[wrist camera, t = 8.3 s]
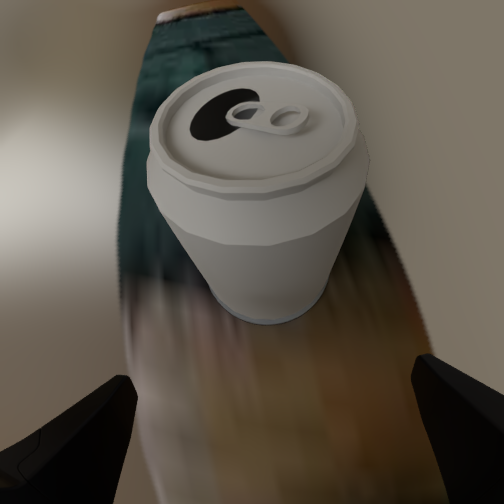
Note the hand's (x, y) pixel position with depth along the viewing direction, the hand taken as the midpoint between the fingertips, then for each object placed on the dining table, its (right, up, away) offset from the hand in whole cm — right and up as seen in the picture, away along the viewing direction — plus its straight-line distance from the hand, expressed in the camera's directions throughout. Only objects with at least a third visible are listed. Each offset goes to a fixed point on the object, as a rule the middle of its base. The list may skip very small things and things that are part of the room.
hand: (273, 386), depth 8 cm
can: (0, +3, +11) cm, 11 cm away
